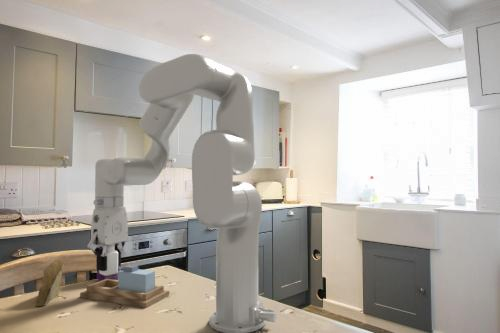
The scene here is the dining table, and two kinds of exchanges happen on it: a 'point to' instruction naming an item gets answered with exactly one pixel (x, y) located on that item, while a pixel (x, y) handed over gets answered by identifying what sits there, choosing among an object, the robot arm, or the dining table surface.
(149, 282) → the light blue block
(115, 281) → the frame
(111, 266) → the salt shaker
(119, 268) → the beverage can
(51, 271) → the rock
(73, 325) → the dining table surface
